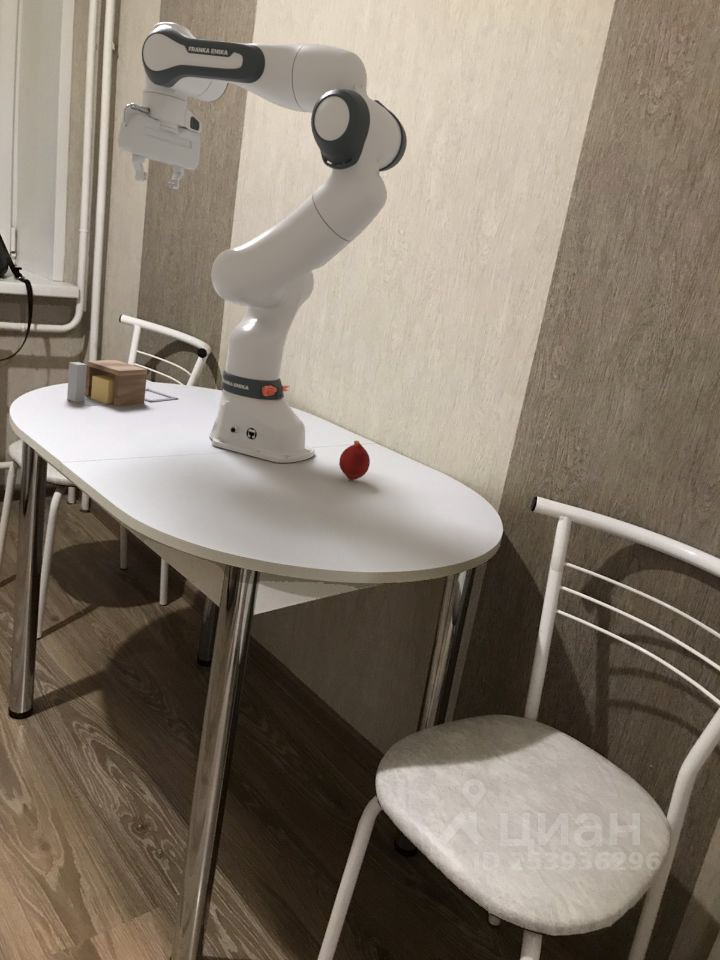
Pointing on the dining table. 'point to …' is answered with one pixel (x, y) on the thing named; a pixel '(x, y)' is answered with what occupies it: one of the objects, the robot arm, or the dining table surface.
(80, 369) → the grey angled piece
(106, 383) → the block
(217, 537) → the dining table surface
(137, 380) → the brown wooden box
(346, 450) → the onion
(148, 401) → the thin grey frame
